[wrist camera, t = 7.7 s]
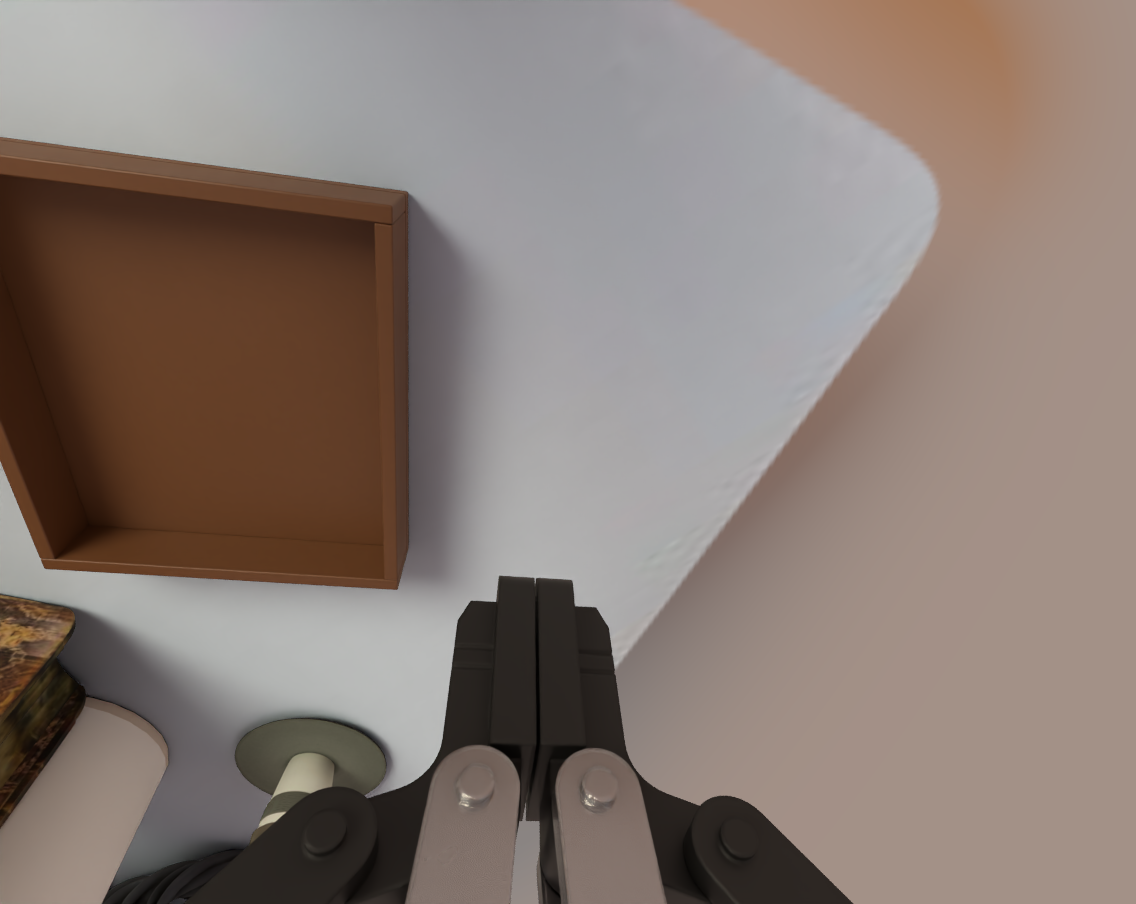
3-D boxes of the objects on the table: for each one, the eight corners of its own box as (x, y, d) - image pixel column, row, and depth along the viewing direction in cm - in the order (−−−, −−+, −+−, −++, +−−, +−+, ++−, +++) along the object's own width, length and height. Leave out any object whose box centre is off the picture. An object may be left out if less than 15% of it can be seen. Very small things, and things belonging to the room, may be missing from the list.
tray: (-50, 130, 17) (-135, 136, 15) (408, 191, 18) (392, 205, 16) (87, 526, 24) (43, 569, 22) (408, 547, 25) (397, 590, 23)
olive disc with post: (240, 661, 28) (188, 763, 24) (466, 738, 32) (456, 838, 28) (164, 788, 33) (110, 892, 29) (369, 842, 37) (348, 940, 33)
